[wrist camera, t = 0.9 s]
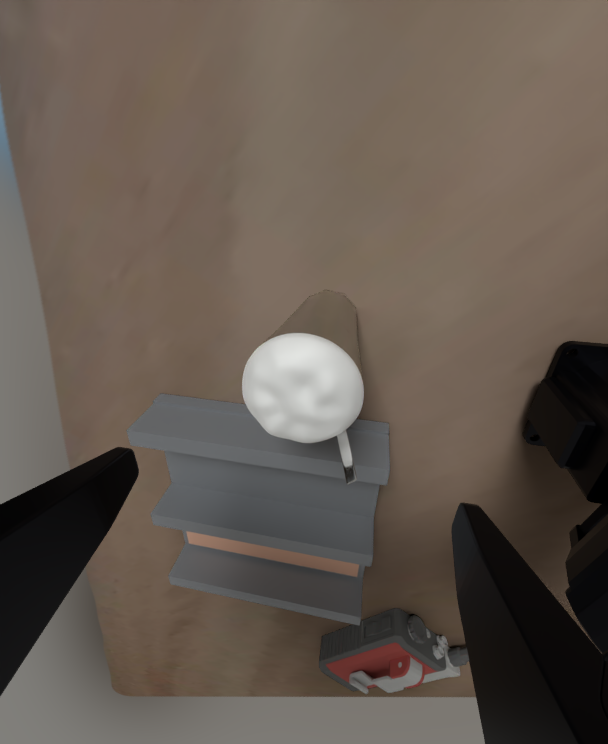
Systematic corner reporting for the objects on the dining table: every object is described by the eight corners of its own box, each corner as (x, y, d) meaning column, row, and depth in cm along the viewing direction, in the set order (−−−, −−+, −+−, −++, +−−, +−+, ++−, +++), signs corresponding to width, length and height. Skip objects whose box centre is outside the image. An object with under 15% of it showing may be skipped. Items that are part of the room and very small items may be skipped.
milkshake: (334, 376, 22) (304, 507, 13) (274, 312, 20) (196, 411, 12) (395, 332, 19) (408, 454, 11) (332, 259, 18) (289, 330, 10)
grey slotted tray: (388, 423, 22) (390, 467, 19) (361, 576, 31) (359, 627, 27) (160, 393, 25) (125, 427, 21) (192, 543, 33) (171, 585, 30)
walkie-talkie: (368, 672, 40) (532, 626, 30) (366, 724, 36) (554, 690, 26) (310, 634, 38) (465, 573, 29) (302, 685, 34) (478, 633, 25)
